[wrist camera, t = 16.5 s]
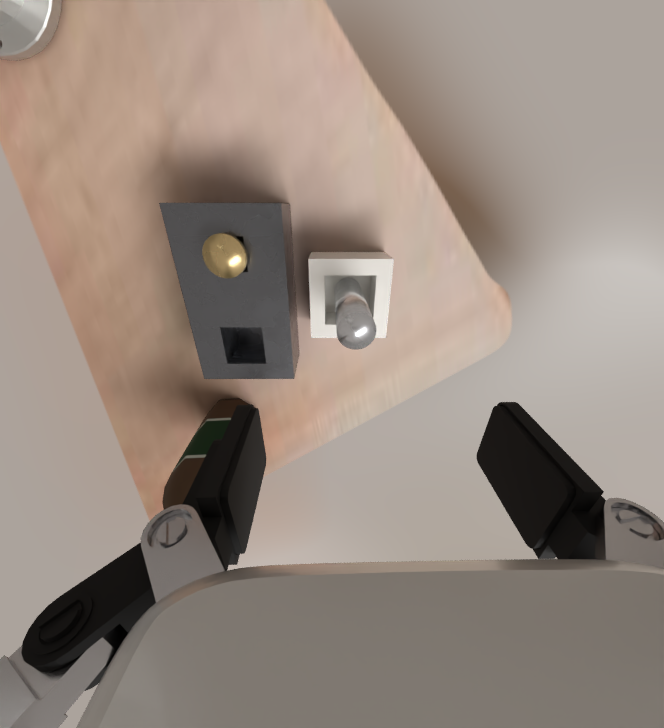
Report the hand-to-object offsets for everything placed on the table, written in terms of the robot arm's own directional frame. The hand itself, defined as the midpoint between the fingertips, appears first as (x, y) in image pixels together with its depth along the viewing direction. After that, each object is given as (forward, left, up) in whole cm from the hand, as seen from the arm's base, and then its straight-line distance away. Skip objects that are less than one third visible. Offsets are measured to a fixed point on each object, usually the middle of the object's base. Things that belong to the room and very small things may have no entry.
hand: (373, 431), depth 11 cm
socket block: (0, -11, -24) cm, 26 cm away
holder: (0, 0, -24) cm, 24 cm away
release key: (-4, -11, -23) cm, 26 cm away
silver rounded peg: (0, 0, -23) cm, 23 cm away
